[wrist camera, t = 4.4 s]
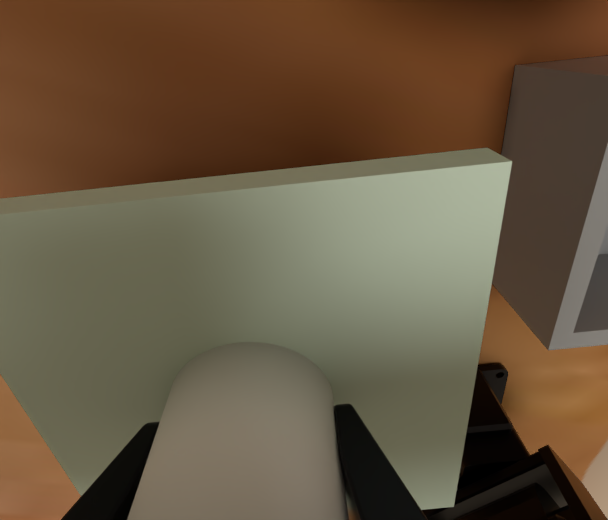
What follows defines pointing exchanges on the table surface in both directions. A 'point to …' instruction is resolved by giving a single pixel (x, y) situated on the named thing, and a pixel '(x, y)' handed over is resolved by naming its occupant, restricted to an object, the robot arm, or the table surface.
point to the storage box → (557, 202)
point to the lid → (255, 327)
